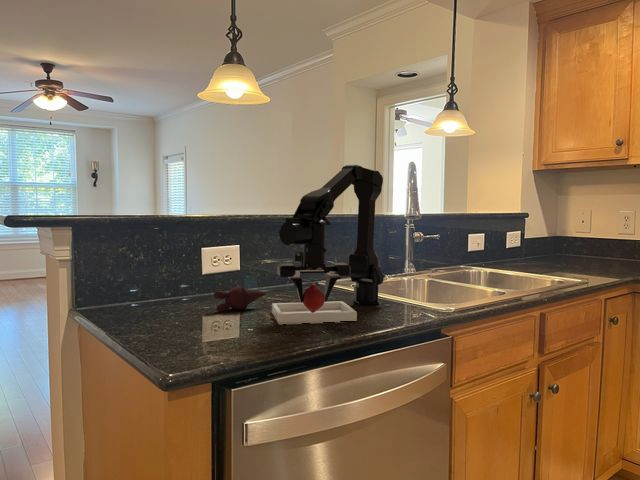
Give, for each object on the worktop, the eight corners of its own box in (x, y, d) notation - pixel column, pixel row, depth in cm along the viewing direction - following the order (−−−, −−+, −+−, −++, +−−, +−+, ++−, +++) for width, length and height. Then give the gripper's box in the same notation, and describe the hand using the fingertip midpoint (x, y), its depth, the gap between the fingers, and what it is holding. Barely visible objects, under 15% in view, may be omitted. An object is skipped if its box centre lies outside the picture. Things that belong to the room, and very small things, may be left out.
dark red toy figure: (259, 282, 139) (209, 290, 132) (268, 279, 133) (216, 288, 125) (263, 305, 138) (213, 315, 131) (272, 304, 132) (220, 314, 124)
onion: (327, 311, 126) (327, 281, 126) (320, 316, 121) (320, 285, 120) (306, 309, 128) (306, 280, 128) (299, 314, 123) (299, 283, 122)
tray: (342, 310, 133) (342, 301, 133) (356, 321, 121) (356, 312, 120) (271, 312, 129) (272, 303, 128) (278, 324, 116) (279, 314, 116)
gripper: (340, 240, 133) (339, 295, 134) (274, 240, 129) (273, 297, 130) (352, 244, 122) (350, 303, 123) (280, 244, 118) (279, 305, 119)
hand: (313, 302), depth 124 cm, fingers open, 6 cm apart
